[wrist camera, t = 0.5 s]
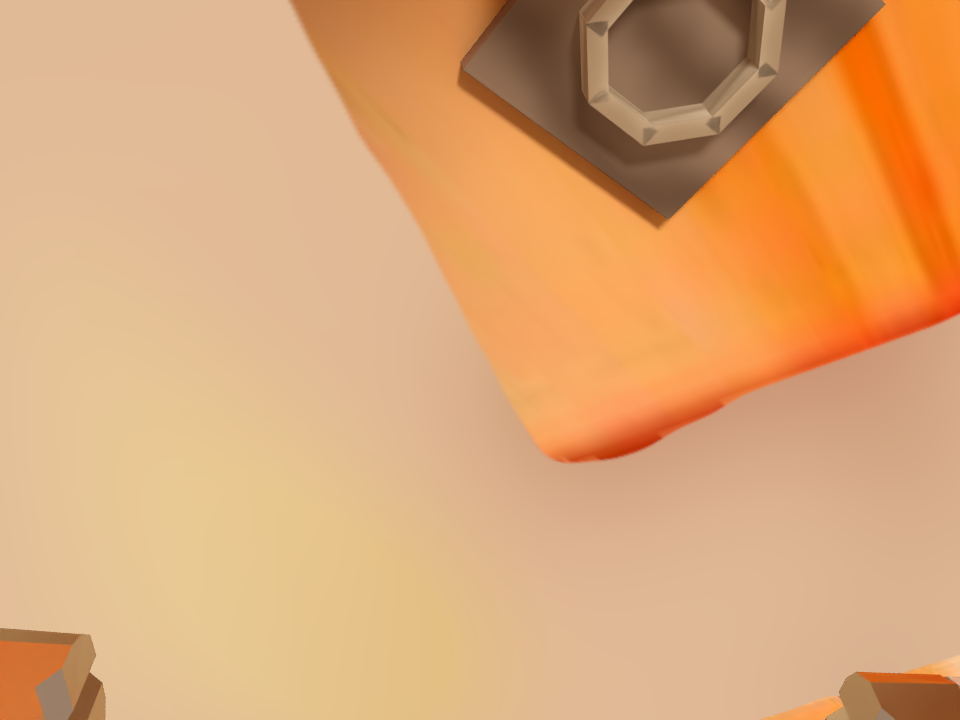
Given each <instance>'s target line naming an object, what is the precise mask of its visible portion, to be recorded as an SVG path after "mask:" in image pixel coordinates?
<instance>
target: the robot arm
mask: <svg viewBox="0 0 960 720" xmlns="http://www.w3.org/2000/svg"><path fill="white" fill-rule="evenodd" d="M95 657H96V653H95V650H94V647H93V643H92V640H91V636H90V635H85V634H70V633H58V632H45V631H30V630H17V629H4V628H0V720H105V693H104V688H103V684H102V682H101V681H100V680H98V679H97V678H96V677H94V676H93V675H92V674H91V673H90V672H89V671H90V669H91V666H92V664H93V661H94V659H95ZM839 694H840V697H841V699H842V702H843V704H844V707H842V708H841V709H839V710H837V711H836V712H834V713H832V714H831V715H829V716H827V717H826V719H825V720H960V677H943V676H941V675H929V674H901V673H871V672H855V673H854V674H852V675H850V676H848V677H847V678H846V679H845V681H844V683H843V685H842V687H841V689H840V691H839Z"/></svg>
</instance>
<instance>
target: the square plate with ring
mask: <svg viewBox="0 0 960 720" xmlns="http://www.w3.org/2000/svg"><path fill="white" fill-rule="evenodd" d="M884 5H885V3H884V2H883V1H882V0H508V2H507V3H506V4H505V5H504V7H503V8H502V9H501V11H500V12H499V13H498V14H497V16H496V17H495V18H494V20H493V21H492V22H491V24H490V25H489V26H488V27H487V29H486V30H485V31H484V33H483V34H482V35H481V36H480V38H479V39H478V40H477V42H476V43H475V44H474V45H473V47H472V48H471V49H470V51H469V52H468V53H467V55H466V56H465V57H464V58H463V60H462V61H461V65H462V68H463V70H464V71H465V72H466V73H468V74H469V75H471V76H472V77H473V78H475V79H476V80H477V81H479V82H480V83H482V84H483V85H484V86H486V87H487V88H488V89H490V90H491V91H493V92H494V93H495V94H497V95H498V96H499V97H501V98H502V99H504V100H505V101H506V102H508V103H509V104H510V105H512V106H513V107H514V108H516V109H517V110H519V111H520V112H521V113H523V114H524V115H525V116H527V117H528V118H530V119H531V120H532V121H534V122H535V123H536V124H538V125H539V126H541V127H542V128H543V129H545V130H546V131H547V132H549V133H550V134H552V135H553V136H554V137H556V138H557V139H558V140H560V141H561V142H563V143H564V144H565V145H567V146H568V147H569V148H571V149H572V150H574V151H575V152H576V153H578V154H579V155H580V156H582V157H583V158H585V159H586V160H587V161H589V162H590V163H591V164H593V165H594V166H596V167H597V168H598V169H600V170H601V171H602V172H604V173H605V174H607V175H608V176H609V177H611V178H612V179H613V180H615V181H616V182H618V183H619V184H620V185H622V186H623V187H624V188H626V189H627V190H628V191H630V192H631V193H633V194H634V195H635V196H637V197H638V198H639V199H641V200H642V201H644V202H645V203H646V204H648V205H649V206H650V207H652V208H653V209H655V210H656V211H657V212H659V213H660V214H661V215H663V216H664V217H666V218H667V219H669V218H670V217H671V216H672V215H673V214H674V213H675V212H676V211H677V210H678V209H679V208H681V207H682V206H683V205H684V204H685V203H686V202H687V201H688V200H689V199H690V198H691V197H692V196H693V195H694V194H695V193H696V192H697V191H698V190H699V189H700V188H701V187H702V186H703V185H704V184H705V183H706V182H707V181H708V180H709V179H710V178H711V177H712V176H713V175H714V174H715V173H716V172H717V171H718V170H719V169H720V168H721V167H722V166H723V165H724V164H725V163H726V162H727V161H728V160H729V159H730V158H731V157H732V156H733V155H734V154H735V153H736V152H737V151H738V150H739V149H740V148H741V147H742V146H743V145H744V144H745V143H746V142H747V141H748V140H749V139H750V138H751V137H752V136H753V135H754V134H755V133H756V132H757V131H758V130H759V129H760V128H761V127H762V126H763V125H764V124H765V123H766V122H767V121H768V120H769V119H770V118H771V117H772V116H773V115H774V114H775V113H776V112H777V111H778V110H779V109H780V108H781V107H782V106H784V105H785V104H786V103H787V102H788V101H789V100H790V99H791V98H792V97H793V96H794V95H795V94H796V93H797V92H798V91H799V90H800V89H801V88H802V87H803V86H804V85H805V84H806V83H807V82H808V81H809V80H810V79H811V78H812V77H813V76H814V75H815V74H816V73H817V72H818V71H819V70H820V69H821V68H822V67H823V66H824V65H825V64H826V63H827V62H828V61H829V60H830V59H831V58H832V57H833V56H834V55H835V54H836V53H837V52H838V51H839V50H840V49H841V48H842V47H843V46H844V45H845V44H846V43H847V42H848V41H849V40H850V39H851V38H852V37H853V36H854V35H855V34H856V33H857V32H858V31H859V30H860V29H861V28H862V27H863V26H864V25H865V24H866V23H867V22H868V21H869V20H870V19H871V18H872V17H873V16H874V15H875V14H876V13H877V12H878V11H879V10H880V9H881V8H882V7H883V6H884Z"/></svg>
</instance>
